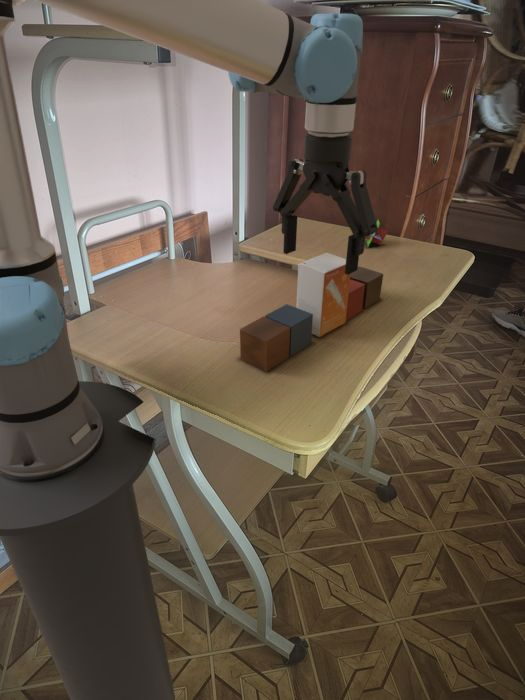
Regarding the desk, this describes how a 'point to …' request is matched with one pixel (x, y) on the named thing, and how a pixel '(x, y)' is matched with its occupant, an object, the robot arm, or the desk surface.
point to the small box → (323, 291)
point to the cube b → (294, 325)
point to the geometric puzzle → (377, 235)
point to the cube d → (369, 284)
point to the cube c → (355, 298)
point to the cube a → (264, 343)
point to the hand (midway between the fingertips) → (318, 261)
